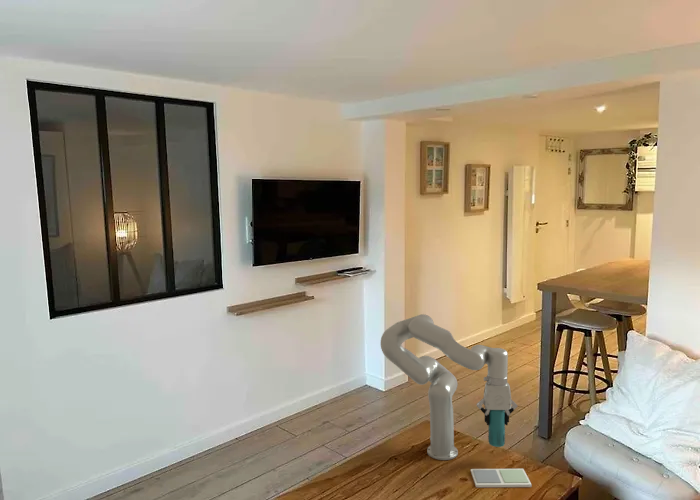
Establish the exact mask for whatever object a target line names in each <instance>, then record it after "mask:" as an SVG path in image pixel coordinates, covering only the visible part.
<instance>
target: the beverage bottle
mask: <svg viewBox="0 0 700 500" xmlns="http://www.w3.org/2000/svg"><path fill="white" fill-rule="evenodd" d="M488 444H489V445H490V446H492V447H495V448H501V447H504V445H505V444H506V425H505V410H490V412H489V425H488Z"/></svg>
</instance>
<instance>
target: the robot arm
mask: <svg viewBox="0 0 700 500" xmlns="http://www.w3.org/2000/svg"><path fill="white" fill-rule="evenodd" d="M413 338H414V339H416V340H418V341H421V342H422V343H425V344H427V345H429V346H431V347H433V348H435V349H437V350H439V351H441V352H442V353H443V354H444V356H446V357H447V358H449V359H450V360H451V361H452V362H454V363H455V364H458V365H460V366H461V367H464V368H466V369H468V370H470V371H479V370H481V369H483V368H484V366H485V365H487V374H486V376H484V377H483V381H484V382H485V384H484V390H483V398H482V399H481V400H480V401H478V402H477V403H476V407H477V408H478V409H479V411H480V412H482V413H483V415H484V423H486V425H487V426H489V412H490V410H505V426H508V425H509V424H508V423H510V416H511V414H512V413H513V412H514V411H515V409H517V408H518V404H517V403H516V402H515V401H514V400H513V399H512V393H511V387H510V383H509V382H508V364H509V363H508V361H509V360H508V359H509V353H508V351H507V350H506V349H504V348H501V347H489V346H486V345H482V344H476V345H473V346H472V347H471V348H470V349H469V348H468V347H465V346H463V345H462V344H460V343H459V342H457V341H456V340H455V339H454V336H453V335H452V332H451V331H449V330H448V329H445V328H443V327H440V326H438V325H436V324H435V323H434V320H433V318H432V317H431V316H429V315H427V314H424V313H423V314H417V315H416V316H413V317H412V316H411V317H410V318H406V319H403V320H400V321H398V322H395V323H393V325H391V326H389V327H388V328H386V330H385V331H383V333H382V335H381V338H380V349H381V352H382V354H383V355H384V356H385V358H386V359H387V360H388V361H390V362H391V363H392V364H393V365H395V366H396V367H397V368H399V370H400V371H402V373H404V374H405V375H406V376H407V377H409V378H410V379H411V380H412V381H413V382H414V383H416V384H417V385H421V386H423V385H425V384H427V383H428V382H429V383H431V384H430V385H429V388H428V391H427V398H428V403H429V405H428V406H429V416H430V417H429V419H430V420H429V422H430V423H429V424H430V425H429V426H430V427H429V428H430V436H429V440H430V445H429V446H428V447H427V449H426V450H427V455H428V456H429V457H430V458H432V459H435V460H439V461H449V460H450V461H451V460H453V459H455V458H456V457H457V456H458V454H459V450H458V448H457V447H456V446H455V432H454V431H455V429H454V427H455V425H454V405H453V396H454V394H455V392H456V391H457V389H458V380H457V377H456V376H455V375H454V374H453V373H452V372H451V371H450V370H448V369H447V368H446V367H445V366H444V365H442V364H441V362H439V361H438V360H437V359H435V358H433V357H431V356H429V355H422V356H420V357H418V356H416V354H414V352H412V351H411V350H409V349H407V348H405V347H403V345H402V344H404V342H406V341H407V340H410V339H413ZM483 405H484V407H483Z"/></svg>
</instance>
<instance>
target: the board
mask: <svg viewBox="0 0 700 500" xmlns="http://www.w3.org/2000/svg"><path fill="white" fill-rule="evenodd" d="M470 473H471V476H472V479H473V483H474V485H475V487H476V488H532V487H533V486H532V483H531V480H530V478H529V476H528V475H527V473H526V471H525V469H524V468H470Z"/></svg>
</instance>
